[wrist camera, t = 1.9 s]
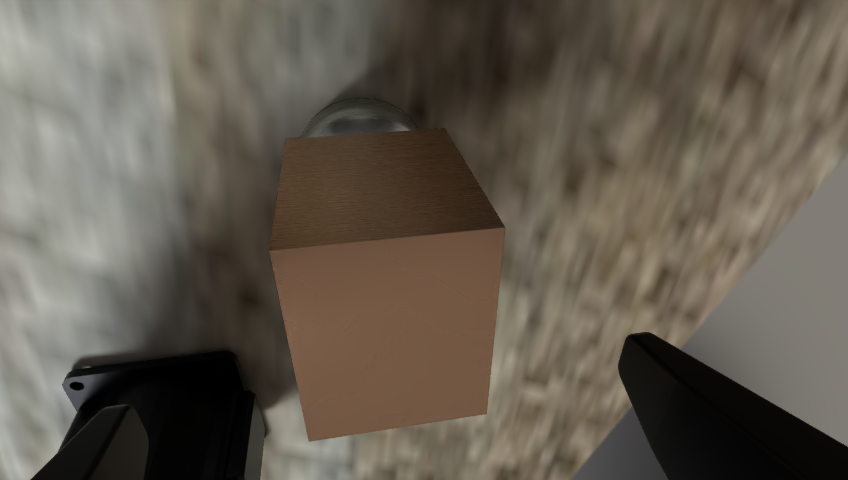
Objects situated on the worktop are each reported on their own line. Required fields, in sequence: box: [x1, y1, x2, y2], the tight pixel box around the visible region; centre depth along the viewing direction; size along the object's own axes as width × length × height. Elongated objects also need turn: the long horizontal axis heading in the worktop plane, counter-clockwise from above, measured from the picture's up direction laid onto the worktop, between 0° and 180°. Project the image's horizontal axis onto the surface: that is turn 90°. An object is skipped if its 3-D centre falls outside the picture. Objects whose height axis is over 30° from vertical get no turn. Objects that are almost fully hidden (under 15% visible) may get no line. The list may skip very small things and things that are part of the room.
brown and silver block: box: [269, 98, 505, 441], centre depth 13 cm, size 4×5×9 cm
